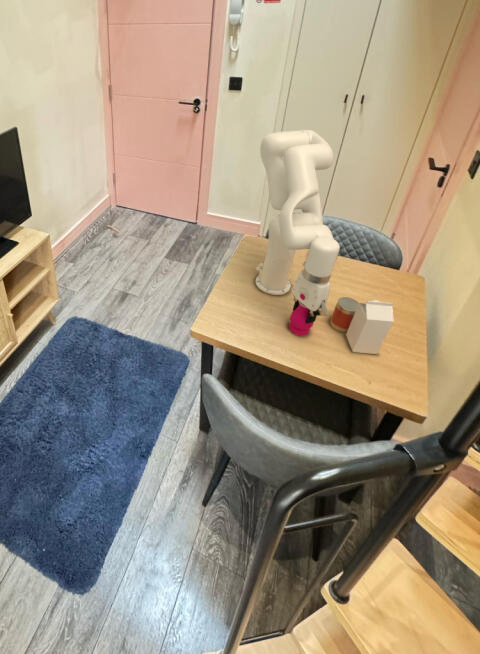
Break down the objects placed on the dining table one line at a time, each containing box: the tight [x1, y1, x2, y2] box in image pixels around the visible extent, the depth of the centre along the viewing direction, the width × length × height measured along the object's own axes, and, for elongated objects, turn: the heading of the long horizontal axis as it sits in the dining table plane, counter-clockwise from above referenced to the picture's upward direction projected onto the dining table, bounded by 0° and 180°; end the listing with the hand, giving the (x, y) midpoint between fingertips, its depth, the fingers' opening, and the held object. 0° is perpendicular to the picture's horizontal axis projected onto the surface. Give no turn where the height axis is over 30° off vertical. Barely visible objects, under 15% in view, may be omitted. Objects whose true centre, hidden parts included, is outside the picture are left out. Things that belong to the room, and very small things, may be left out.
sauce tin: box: [329, 296, 360, 333], centre depth 134 cm, size 7×7×10 cm
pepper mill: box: [288, 293, 315, 336], centre depth 131 cm, size 7×7×20 cm
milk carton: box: [345, 299, 395, 355], centre depth 124 cm, size 7×7×19 cm
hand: (303, 315), depth 133 cm, fingers closed on pepper mill, 5 cm apart
